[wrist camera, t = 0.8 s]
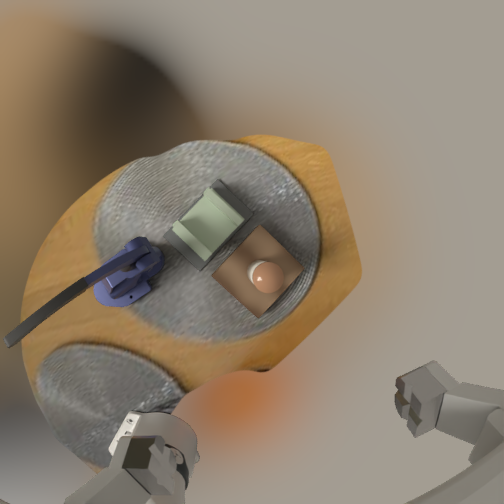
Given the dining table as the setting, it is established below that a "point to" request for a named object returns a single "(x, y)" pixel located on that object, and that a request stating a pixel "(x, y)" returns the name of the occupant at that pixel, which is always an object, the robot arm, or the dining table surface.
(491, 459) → the robot arm
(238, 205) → the mat
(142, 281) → the hand press
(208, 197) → the rack
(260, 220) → the dining table surface
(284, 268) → the board
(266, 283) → the mushroom
